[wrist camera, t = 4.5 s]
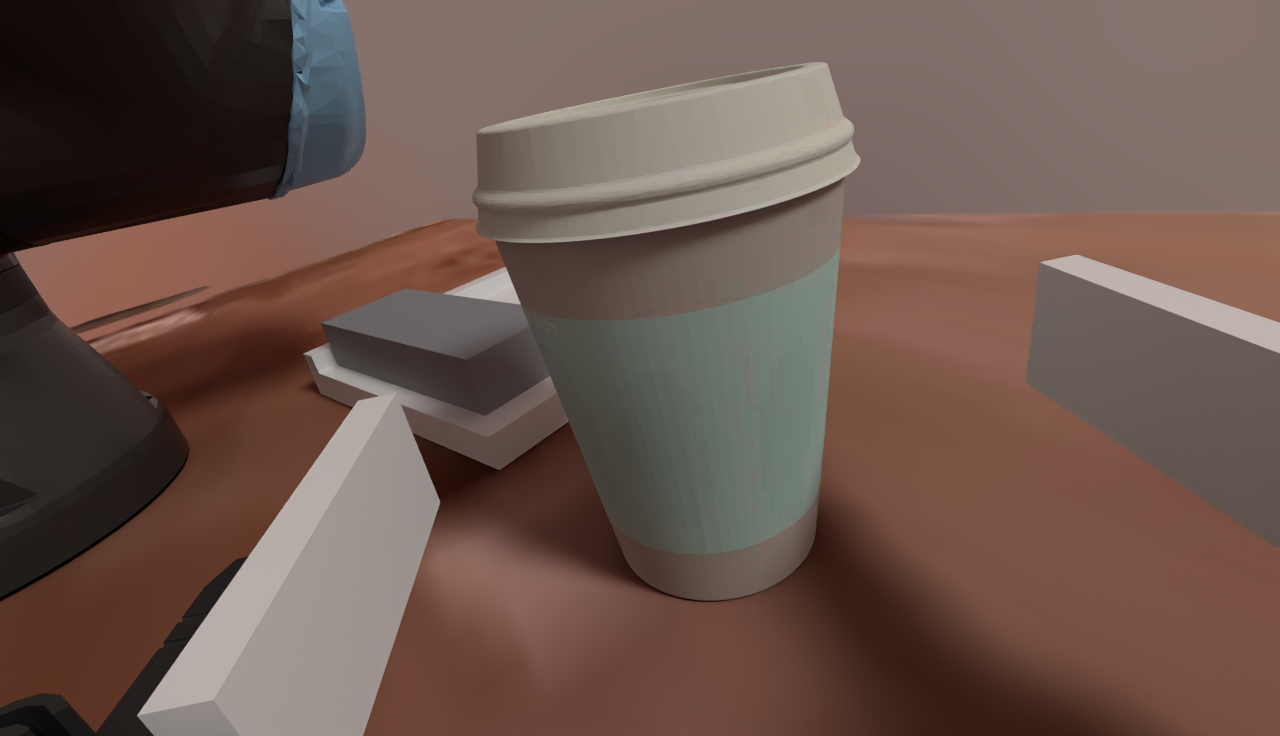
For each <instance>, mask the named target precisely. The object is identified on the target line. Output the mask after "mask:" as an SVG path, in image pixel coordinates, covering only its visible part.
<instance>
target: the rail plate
mask: <svg viewBox="0 0 1280 736" xmlns="http://www.w3.org/2000/svg"><path fill="white" fill-rule="evenodd" d="M321 325H322V327H323V330H324V332H325V334H326V336H327V339H328V341H329V343H327V344H325V345H322V346H320V347H318V348H315V349H313V350H311V351H308V352H306V353H304V356H305V358H306V361H307V363H308V365H309V367H310V372H311V374H312V376H313V378H314V380H315V383H316V385H317V387H318V389H319V391H320V393H321V394H322V395H324V396H327V397H329V398H332V399H334V400H336V401H339V402H341V403H343V404H346V405H348V406H350V407H354V406H355V404H356V403H357V401H359V400H364V399H369V398H373V397H378V396H383V395H388V394H393V393H396V394H397V397H398V399H399V401H400V404H401V406H402V409H403V411H404V414H405V416H406V419H407V421H408V424H409V426H410V429H411V431H412V433H413V434H416V435H418V436H420V437H423V438H425V439H427V440H430V441H432V442H434V443H437V444H439V445H441V446H444V447H446V448H448V449H451V450H453V451H455V452H458V453H460V454H463V455H465V456H467V457H470V458H472V459H474V460H477V461H479V462H481V463H484V464H486V465H488V466H491V467H493V468H495V469H498V470H501V469H502V468H504V467H505V466H507V465H508V464H509V463H511V462H512V461H514V460H515V459H516V458H518V457H519V456H521V455H522V454H523V453H525V452H526V451H528V450H529V449H531V448H532V447H533V446H535V445H536V444H538V443H539V442H540V441H542V440H543V439H545V438H546V437H547V436H549V435H550V434H552V433H553V432H555V431H556V430H557V429H559V428H560V427H562V426H563V425H564V424H566V423H567V422H569V421H568V419H567V416H566V414H565V411H564V409H563V406H562V404H561V401H560V399H559V397H558V394H557V392H556V389H555V387H554V384H553V382H552V379H551V377H550V375H549V372H548V370H547V367H546V365H545V362H544V360H543V357H542V355H541V353H540V350H539V348H538V345H537V343H536V340H535V338H534V335H533V333H532V331H531V328H530V326H529V323H528V321H527V318H526V316H525V313H524V311H523V309H522V306H521V304H520V301H519V299H518V296H517V293H516V291H515V289H514V286H513V284H512V281H511V279H510V276H509V274H508V271H507V269H506V267H504V268H502V269H499V270H497V271H495V272H492V273H490V274H488V275H485V276H483V277H481V278H478V279H476V280H474V281H471V282H469V283H467V284H464V285H462V286H460V287H457V288H455V289H453V290H450V291H448V292H446V293H443V294H441V293H434V292H426V291H419V290H412V289H403V290H401V291H398V292H396V293H393V294H391V295H388V296H386V297H383V298H381V299H379V300H376V301H374V302H371V303H369V304H366V305H364V306H361V307H359V308H356V309H354V310H351V311H349V312H346V313H344V314H341V315H339V316H336V317H334V318H331V319H329V320H326V321H324V322H322V323H321Z"/></svg>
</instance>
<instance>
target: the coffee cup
mask: <svg viewBox="0 0 1280 736" xmlns="http://www.w3.org/2000/svg"><path fill="white" fill-rule="evenodd" d="M853 133H854V127H853V124H852V123H851V122H850V121H849V120H847V119H846V118H845V117H844V116H843V114H842V110H841V107H840V104H839V101H838V97H837V94H836V91H835V88H834V84H833V81H832V77H831V74H830V71H829V68H828V64H826V63H823V62H818V63H817V62H816V63H806V64H799V65H792V66H785V67H779V68H773V69H766V70H761V71H754V72H748V73H743V74H737V75H731V76H725V77H720V78H714V79H709V80H704V81H698V82H693V83H688V84H682V85H677V86H672V87H666V88H661V89H656V90H651V91H646V92H641V93H636V94H631V95H626V96H622V97H616V98H611V99H606V100H602V101H597V102H592V103H587V104H582V105H578V106H573V107H568V108H564V109H559V110H555V111H550V112H546V113H542V114H537V115H532V116H528V117H524V118H520V119H516V120H511V121H507V122H503V123H499V124H496V125H492V126H489V127H485V128H483V129H481V130H479V131H478V132H477V134H476V135H477V165H478V166H477V167H478V186H477V188H476V189H475V190H474V193H473V196H472V198H473V202H474V204H475V205H476V207H477V208H478V223H477V225H476V231H477V233H478V234H480V235H481V236H483V237H486V238H489V239H492V240H495V241H496V244H497V246H498V249H499V251H500V254H501V256H502V259H503V261H504V264H505V266H506V269H507V271H508V274H509V276H510V279H511V281H512V284H513V286H514V289H515V291H516V293H517V296H518V299H519V301H520V304H521V306H522V309H523V311H524V313H525V316H526V318H527V321H528V323H529V326H530V328H531V331H532V333H533V335H534V338H535V340H536V343H537V345H538V348H539V350H540V353H541V355H542V357H543V360H544V362H545V365H546V367H547V370H548V372H549V375H550V377H551V379H552V382H553V384H554V387H555V389H556V392H557V394H558V397H559V399H560V401H561V404H562V406H563V409H564V411H565V414H566V416H567V419H568V421H569V423H570V426H571V428H572V431H573V433H574V436H575V438H576V441H577V443H578V445H579V448H580V450H581V453H582V455H583V458H584V460H585V463H586V465H587V467H588V470H589V472H590V475H591V477H592V480H593V482H594V485H595V487H596V489H597V492H598V494H599V497H600V499H601V502H602V504H603V507H604V509H605V511H606V514H607V516H608V518H609V521H610V523H611V526H612V528H613V530H614V533H615V535H616V537H617V540H618V542H619V545H620V547H621V549H622V552H623V554H624V557H625V559H626V561H627V563H628V564H629V566H630V567H631V569H632V570H633V571H634V572H635V573H636V574H637V575H638V576H639V577H640V578H641V579H642V580H644V581H645V582H646V583H648V584H649V585H651V586H653V587H654V588H656V589H658V590H660V591H663V592H665V593H668V594H671V595H674V596H677V597H682V598H687V599H694V600H708V601H715V600H728V599H735V598H740V597H744V596H748V595H751V594H754V593H757V592H760V591H763V590H765V589H767V588H769V587H771V586H773V585H775V584H777V583H778V582H780V581H782V580H783V579H785V578H786V577H787V576H789V575H790V574H791V573H792V572H793V571H795V570H796V569H797V568H798V567H799V566H800V564H801V563H802V562H803V561H804V560H805V558H806V557H807V555H808V553H809V552H810V550H811V548H812V545H813V542H814V539H815V534H816V524H817V513H818V502H819V491H820V481H821V469H822V457H823V445H824V433H825V421H826V410H827V398H828V386H829V374H830V362H831V350H832V338H833V326H834V314H835V302H836V290H837V278H838V266H839V254H840V240H841V227H842V214H843V201H844V188H845V176H847V175H848V174H850V173H851V172H852V171H854V170H855V169H856V168H857V167H858V165H859V164H860V157H859V156H858V155H857V154H856V153H855V151H854V147H853V144H852V140H851V138H852V136H853Z"/></svg>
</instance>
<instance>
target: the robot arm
mask: <svg viewBox="0 0 1280 736" xmlns="http://www.w3.org/2000/svg"><path fill="white" fill-rule="evenodd" d="M365 140H366V114H365V103H364V94H363V87H362V80H361V75H360V68H359V63H358V57H357V51H356V47H355V41H354V37H353V32H352V27H351V23H350V19H349V14H348V12H347V9H346V7H345V5H344V3H343V1H342V0H0V597H2V596H4V595H6V594H8V593H10V592H11V591H13V590H15V589H17V588H19V587H21V586H22V585H24V584H26V583H28V582H30V581H32V580H33V579H35V578H37V577H39V576H40V575H42V574H44V573H46V572H47V571H49V570H51V569H53V568H54V567H56V566H58V565H59V564H61V563H63V562H64V561H66V560H68V559H69V558H71V557H72V556H74V555H76V554H77V553H79V552H80V551H82V550H83V549H85V548H87V547H88V546H90V545H91V544H93V543H94V542H96V541H97V540H99V539H100V538H102V537H103V536H105V535H106V534H107V533H109V532H110V531H112V530H113V529H115V528H116V527H117V526H119V525H120V524H121V523H123V522H124V521H125V520H127V519H128V518H129V517H131V516H132V515H133V514H134V513H136V512H137V511H138V510H140V509H141V508H142V507H143V506H144V505H146V504H147V503H148V502H149V501H150V500H151V499H152V498H154V497H155V496H156V495H157V494H158V493H159V492H160V491H161V490H162V489H163V488H164V487H165V486H166V485H167V484H168V483H169V482H170V481H171V480H172V478H173V477H174V476H175V475H176V473H177V472H178V471H179V470H180V468H181V466H182V465H183V463H184V461H185V459H186V457H187V454H188V442H187V440H186V439H185V437H184V435H183V434H182V432H181V430H180V429H179V427H178V425H177V424H176V422H175V420H174V419H173V417H172V415H171V414H170V412H169V410H168V409H167V408H166V407H165V405H164V404H163V403H162V402H161V401H159V400H158V399H157V398H155V397H154V396H152V395H151V394H149V393H147V392H144V391H139V390H138V389H137V388H136V387H135V386H134V385H133V384H132V383H131V382H130V381H129V380H128V379H127V378H126V377H125V376H124V375H123V374H122V373H121V372H119V371H118V370H117V369H116V368H115V367H114V366H113V365H112V364H111V363H110V362H108V361H107V360H106V359H105V358H104V357H103V356H102V355H101V354H99V353H98V352H97V351H96V350H95V349H94V348H93V347H91V346H90V345H89V344H88V343H87V342H85V341H84V340H83V339H82V338H81V337H79V336H78V335H77V334H76V333H75V332H73V331H72V330H71V329H70V328H69V327H68V326H66V325H65V324H64V323H63V322H62V321H61V320H60V319H59V318H57V317H56V315H55V314H54V313H53V312H52V311H51V310H50V309H49V307H48V306H47V304H46V303H45V301H44V300H43V298H42V297H41V296H40V294H39V293H38V291H37V290H36V288H35V286H34V285H33V283H32V282H31V280H30V279H29V277H28V276H27V274H26V273H25V271H24V270H23V268H22V267H21V265H20V263H19V261H18V259H17V257H16V256H15V254H14V252H16V251H21V250H25V249H29V248H33V247H38V246H44V245H48V244H50V243H54V242H59V241H64V240H69V239H74V238H79V237H83V236H88V235H93V234H98V233H103V232H107V231H112V230H117V229H122V228H126V227H132V226H136V225H141V224H146V223H151V222H155V221H160V220H165V219H170V218H175V217H179V216H185V215H189V214H194V213H199V212H204V211H209V210H214V209H218V208H223V207H228V206H233V205H238V204H242V203H247V202H252V201H257V200H262V199H266V198H268V199H270V200H272V199H277V198H279V197H283V196H285V195H286V194H287V193H288V192H289V191H291V190H294V189H298V188H301V187H304V186H308V185H312V184H315V183H319V182H322V181H326V180H329V179H333V178H336V177H339V176H341V175H343V174H345V173H346V172H348V171H350V169H351V168H352V167H354V166H355V165H356V164H357V162H358V161H359V159H360V158H361V155H362V153H363V150H364V146H365ZM1026 383H1027V384H1029V385H1030V386H1032V387H1033V388H1035V389H1036V390H1038V391H1039V392H1041V393H1042V394H1044V395H1046V396H1047V397H1049V398H1050V399H1052V400H1053V401H1055V402H1056V403H1058V404H1059V405H1061V406H1062V407H1064V408H1065V409H1067V410H1068V411H1070V412H1071V413H1073V414H1074V415H1076V416H1077V417H1079V418H1080V419H1082V420H1083V421H1085V422H1086V423H1088V424H1090V425H1091V426H1093V427H1094V428H1096V429H1097V430H1099V431H1100V432H1102V433H1103V434H1105V435H1106V436H1108V437H1109V438H1111V439H1112V440H1114V441H1115V442H1117V443H1118V444H1120V445H1121V446H1123V447H1124V448H1126V449H1127V450H1129V451H1130V452H1132V453H1133V454H1135V455H1137V456H1138V457H1140V458H1141V459H1143V460H1144V461H1146V462H1147V463H1149V464H1150V465H1152V466H1153V467H1155V468H1156V469H1158V470H1159V471H1161V472H1162V473H1164V474H1165V475H1167V476H1168V477H1170V478H1171V479H1173V480H1174V481H1176V482H1177V483H1179V484H1180V485H1182V486H1184V487H1185V488H1187V489H1188V490H1190V491H1191V492H1193V493H1194V494H1196V495H1197V496H1199V497H1200V498H1202V499H1203V500H1205V501H1206V502H1208V503H1209V504H1211V505H1212V506H1214V507H1215V508H1217V509H1218V510H1220V511H1221V512H1223V513H1224V514H1226V515H1227V516H1229V517H1231V518H1232V519H1234V520H1235V521H1237V522H1238V523H1240V524H1241V525H1243V526H1244V527H1246V528H1247V529H1249V530H1250V531H1252V532H1253V533H1255V534H1256V535H1258V536H1259V537H1261V538H1262V539H1264V540H1265V541H1267V542H1268V543H1270V544H1271V545H1273V546H1274V547H1276V548H1278V549H1279V550H1280V323H1279V322H1276V321H1273V320H1270V319H1267V318H1264V317H1261V316H1258V315H1255V314H1252V313H1249V312H1246V311H1243V310H1240V309H1237V308H1234V307H1231V306H1228V305H1225V304H1222V303H1219V302H1216V301H1213V300H1210V299H1207V298H1204V297H1201V296H1198V295H1195V294H1192V293H1189V292H1186V291H1183V290H1180V289H1177V288H1174V287H1171V286H1168V285H1165V284H1163V283H1160V282H1157V281H1154V280H1151V279H1148V278H1145V277H1142V276H1139V275H1136V274H1133V273H1130V272H1127V271H1124V270H1121V269H1118V268H1115V267H1112V266H1109V265H1106V264H1103V263H1100V262H1097V261H1094V260H1091V259H1088V258H1085V257H1082V256H1079V255H1073V256H1068V257H1064V258H1059V259H1054V260H1049V261H1044V262H1040V265H1039V273H1038V282H1037V291H1036V299H1035V308H1034V317H1033V325H1032V334H1031V343H1030V352H1029V360H1028V369H1027V378H1026ZM439 505H440V500H439V498H438V495H437V493H436V490H435V488H434V485H433V483H432V480H431V478H430V476H429V473H428V471H427V468H426V466H425V463H424V461H423V458H422V456H421V453H420V451H419V448H418V446H417V443H416V441H415V439H414V436H413V434H412V431H411V429H410V426H409V424H408V421H407V419H406V416H405V414H404V411H403V409H402V406H401V404H400V401H399V399H398V397H397V394H396V393H393V394H388V395H383V396H378V397H373V398H369V399H364V400H359V401H357V403H356V404H355V406H354V407H353V409H352V410H351V411H350V413H349V414H348V416H347V417H346V419H345V420H344V421H343V423H342V424H341V426H340V427H339V429H338V430H337V431H336V433H335V434H334V436H333V437H332V439H331V440H330V441H329V443H328V444H327V446H326V447H325V449H324V450H323V451H322V453H321V454H320V456H319V457H318V458H317V460H316V461H315V463H314V464H313V466H312V467H311V468H310V470H309V471H308V473H307V474H306V476H305V477H304V478H303V480H302V481H301V483H300V484H299V486H298V487H297V488H296V490H295V491H294V493H293V494H292V496H291V497H290V498H289V500H288V501H287V503H286V504H285V506H284V507H283V508H282V510H281V511H280V513H279V514H278V515H277V517H276V518H275V520H274V521H273V523H272V524H271V525H270V527H269V528H268V530H267V531H266V533H265V534H264V535H263V537H262V538H261V540H260V541H259V543H258V544H257V545H256V547H255V548H254V550H253V551H252V553H251V554H250V555H249V557H245V558H240V559H236V560H235V561H234V562H233V563H232V564H231V565H230V566H228V567H227V568H226V569H225V570H224V571H223V572H221V573H220V574H219V575H218V576H217V577H216V578H215V579H213V580H212V581H211V582H210V583H209V584H208V585H207V586H205V587H204V589H203V590H202V591H201V593H200V594H199V595H198V597H197V598H196V599H195V601H194V602H193V603H192V605H191V606H190V608H189V609H188V610H187V612H186V613H185V614H184V616H183V622H181V623H178V624H177V625H176V626H175V628H174V629H173V630H172V632H171V633H170V634H169V636H168V637H167V638H166V640H165V641H164V642H163V643H164V647H163V648H161V649H158V650H157V652H156V653H155V654H154V656H153V657H152V658H151V660H150V661H149V662H148V664H147V665H146V666H145V668H144V669H143V670H142V672H141V673H140V674H139V676H138V677H137V678H136V680H135V681H134V682H133V684H132V685H131V687H130V688H129V689H128V691H127V692H126V693H125V695H124V696H123V697H122V699H121V700H120V701H119V703H118V704H117V705H116V707H115V708H114V709H113V711H112V712H111V713H110V715H109V716H108V717H107V719H106V720H105V721H104V723H103V724H102V725H101V727H100V728H99V729H98V731H97V732H96V733H95V732H94V731H93V730H92V729H91V728H90V726H89V725H88V724H87V723H86V722H85V721H84V720H83V719H82V718H81V717H80V715H79V714H78V713H77V712H76V711H75V710H74V709H73V708H72V707H71V706H70V704H69V703H68V702H67V701H66V700H65V699H64V698H63V697H62V696H61V695H56V694H38V695H35V696H31V697H28V698H24V699H21V700H17V701H14V702H12V703H10V704H8V705H6V706H4V707H2V708H0V736H363V734H364V731H365V728H366V725H367V722H368V719H369V716H370V713H371V710H372V707H373V704H374V701H375V698H376V695H377V692H378V689H379V686H380V683H381V680H382V677H383V674H384V671H385V668H386V665H387V662H388V659H389V656H390V653H391V650H392V647H393V644H394V641H395V638H396V634H397V631H398V628H399V625H400V622H401V619H402V616H403V613H404V610H405V607H406V604H407V601H408V598H409V595H410V592H411V589H412V586H413V583H414V580H415V577H416V574H417V571H418V568H419V565H420V562H421V559H422V556H423V553H424V550H425V547H426V544H427V541H428V538H429V535H430V532H431V529H432V526H433V523H434V520H435V517H436V514H437V511H438V508H439Z"/></svg>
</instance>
